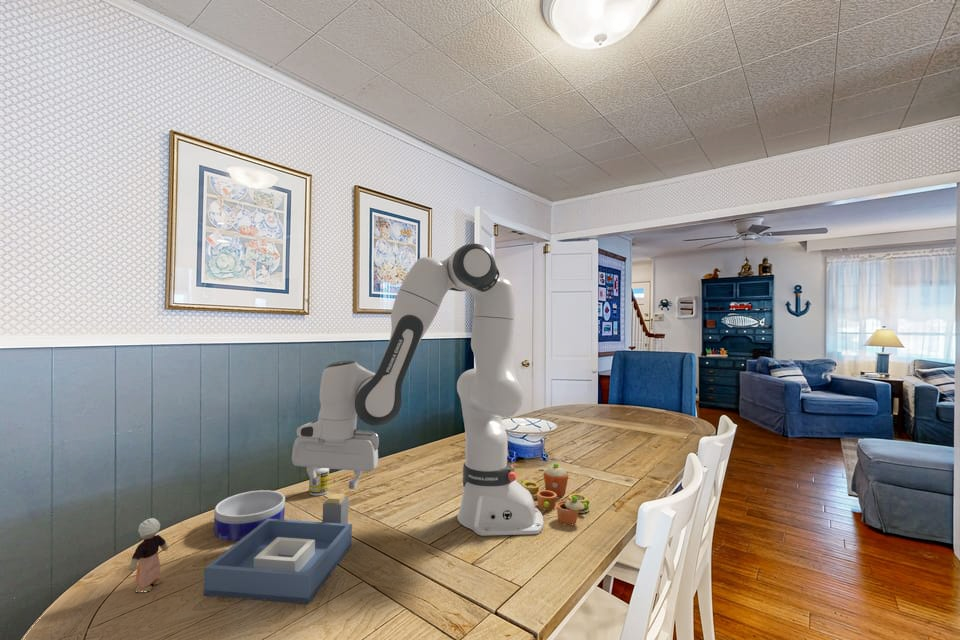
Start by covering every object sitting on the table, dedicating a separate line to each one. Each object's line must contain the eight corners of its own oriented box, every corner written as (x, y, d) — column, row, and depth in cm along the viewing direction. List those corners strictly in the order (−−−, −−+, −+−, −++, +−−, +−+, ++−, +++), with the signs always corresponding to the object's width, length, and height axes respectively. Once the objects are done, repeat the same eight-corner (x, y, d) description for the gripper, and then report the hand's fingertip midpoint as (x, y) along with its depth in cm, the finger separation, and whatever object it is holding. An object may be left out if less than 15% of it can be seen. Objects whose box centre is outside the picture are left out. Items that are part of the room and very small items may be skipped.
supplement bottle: (321, 497, 123) (322, 463, 123) (305, 495, 124) (306, 461, 124) (332, 490, 128) (333, 457, 128) (315, 488, 129) (316, 455, 129)
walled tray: (351, 546, 96) (351, 524, 96) (308, 603, 76) (309, 575, 76) (267, 540, 98) (267, 518, 98) (203, 595, 78) (204, 567, 78)
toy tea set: (512, 493, 130) (513, 461, 130) (554, 486, 137) (555, 456, 137) (562, 531, 106) (563, 493, 107) (610, 521, 113) (611, 485, 113)
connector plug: (347, 530, 104) (348, 493, 104) (340, 539, 99) (341, 500, 99) (330, 528, 104) (331, 492, 104) (321, 537, 100) (323, 499, 100)
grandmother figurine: (149, 575, 83) (152, 510, 83) (170, 575, 84) (172, 510, 84) (120, 601, 76) (122, 529, 76) (142, 600, 76) (145, 529, 76)
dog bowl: (249, 547, 95) (250, 520, 95) (197, 535, 99) (198, 509, 99) (297, 518, 109) (298, 494, 110) (250, 509, 114) (251, 486, 114)
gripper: (383, 428, 104) (380, 485, 104) (303, 422, 106) (300, 478, 106) (375, 434, 98) (371, 495, 98) (290, 428, 100) (286, 487, 99)
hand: (333, 486), depth 102 cm, fingers open, 8 cm apart
